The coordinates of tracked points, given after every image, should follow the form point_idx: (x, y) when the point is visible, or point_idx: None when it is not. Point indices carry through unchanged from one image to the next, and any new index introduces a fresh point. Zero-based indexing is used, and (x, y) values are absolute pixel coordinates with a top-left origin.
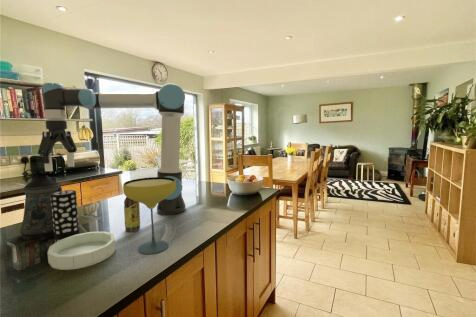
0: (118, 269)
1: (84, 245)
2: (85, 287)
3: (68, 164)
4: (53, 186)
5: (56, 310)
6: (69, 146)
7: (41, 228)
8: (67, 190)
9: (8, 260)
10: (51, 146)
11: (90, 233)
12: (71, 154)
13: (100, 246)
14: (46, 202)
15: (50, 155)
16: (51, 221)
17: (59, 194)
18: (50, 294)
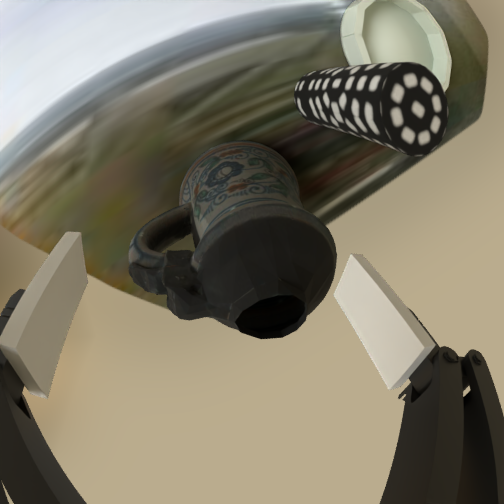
0: (437, 4)
1: (367, 50)
2: (464, 45)
3: (81, 288)
4: (297, 212)
5: (485, 71)
6: (28, 462)
7: (296, 183)
8: (383, 104)
9: (380, 183)
10: (458, 435)
11: (360, 36)
12: (29, 336)
13: (377, 19)
14: (300, 204)
15: (421, 353)
16: (282, 168)
17: (439, 116)
18: (469, 80)
